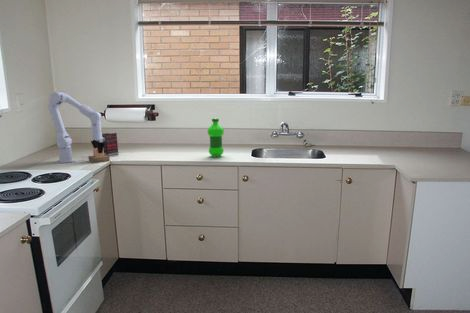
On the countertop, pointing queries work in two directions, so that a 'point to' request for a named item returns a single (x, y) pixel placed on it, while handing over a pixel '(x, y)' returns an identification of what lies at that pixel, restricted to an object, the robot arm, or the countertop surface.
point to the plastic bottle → (215, 138)
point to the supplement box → (110, 144)
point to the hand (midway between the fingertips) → (98, 152)
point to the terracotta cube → (96, 154)
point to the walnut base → (99, 159)
